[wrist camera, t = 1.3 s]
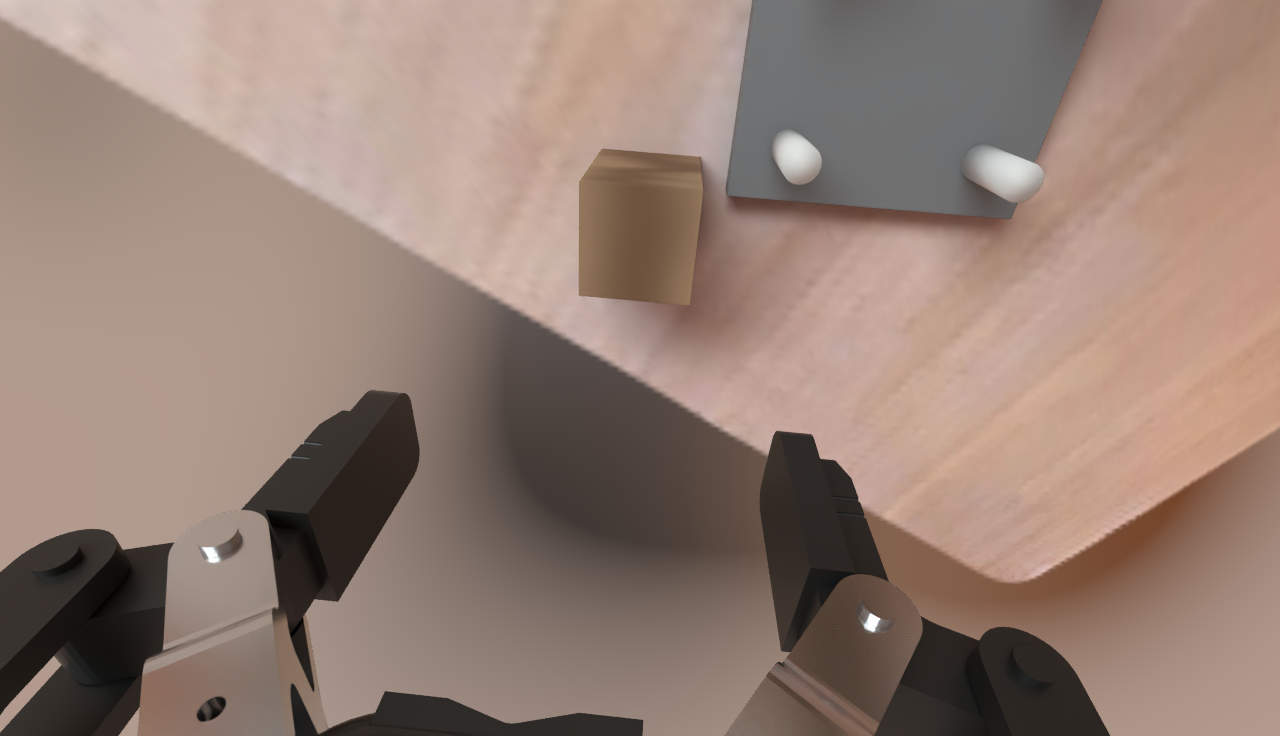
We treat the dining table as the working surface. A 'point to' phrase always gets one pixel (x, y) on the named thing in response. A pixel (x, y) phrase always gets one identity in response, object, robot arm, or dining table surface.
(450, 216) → the dining table surface
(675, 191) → the walnut block
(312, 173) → the dining table surface
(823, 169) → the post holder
